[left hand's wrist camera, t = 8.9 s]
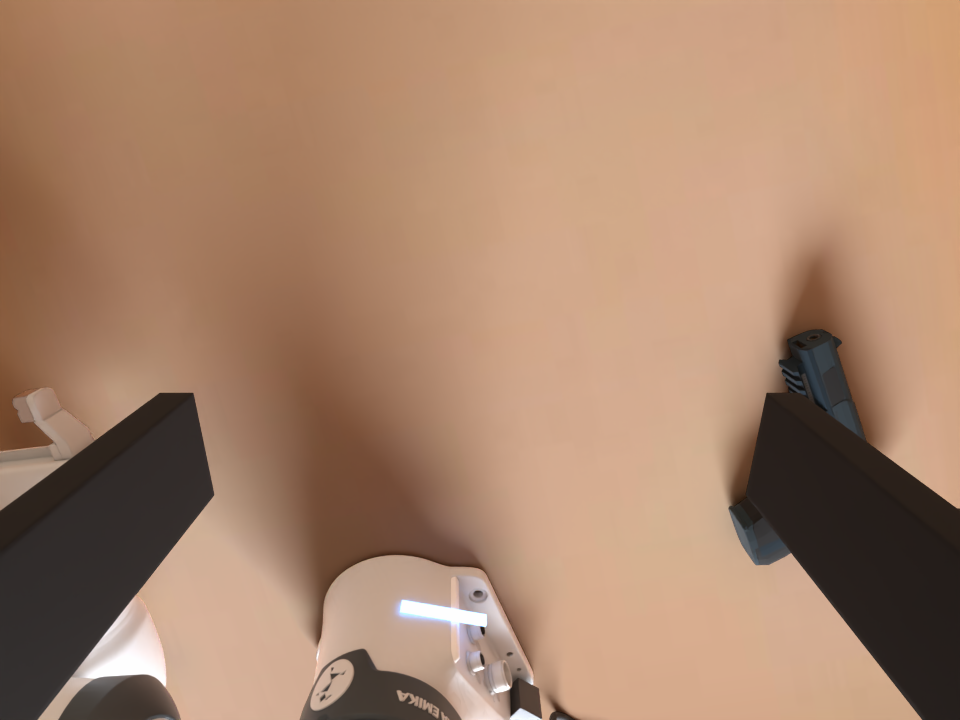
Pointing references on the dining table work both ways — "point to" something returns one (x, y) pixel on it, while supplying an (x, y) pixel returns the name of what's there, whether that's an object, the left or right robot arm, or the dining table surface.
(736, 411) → the dining table surface
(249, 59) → the dining table surface
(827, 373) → the handgun
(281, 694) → the dining table surface
